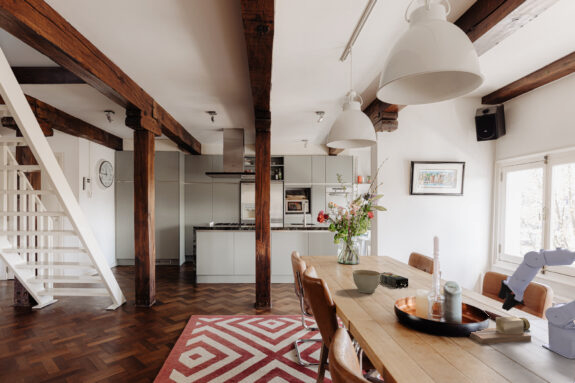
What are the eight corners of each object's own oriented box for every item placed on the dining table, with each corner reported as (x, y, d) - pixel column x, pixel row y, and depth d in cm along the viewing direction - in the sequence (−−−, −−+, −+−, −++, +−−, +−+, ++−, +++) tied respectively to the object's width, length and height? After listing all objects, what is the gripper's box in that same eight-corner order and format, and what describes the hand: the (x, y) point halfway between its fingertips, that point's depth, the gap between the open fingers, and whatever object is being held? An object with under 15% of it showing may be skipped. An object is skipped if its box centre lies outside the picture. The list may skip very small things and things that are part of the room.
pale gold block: (523, 333, 115) (523, 320, 115) (504, 334, 114) (503, 321, 114) (514, 329, 119) (514, 316, 119) (495, 330, 118) (495, 317, 118)
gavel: (470, 306, 143) (489, 305, 144) (471, 316, 142) (490, 315, 143) (507, 320, 122) (529, 319, 123) (508, 332, 121) (530, 331, 123)
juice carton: (376, 280, 203) (376, 271, 203) (388, 279, 206) (388, 270, 206) (395, 289, 184) (395, 279, 184) (409, 288, 187) (409, 278, 187)
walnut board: (531, 341, 113) (530, 335, 113) (482, 344, 111) (482, 338, 111) (512, 332, 121) (512, 327, 121) (466, 334, 119) (466, 329, 119)
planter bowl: (376, 296, 167) (376, 277, 167) (348, 292, 175) (348, 273, 176) (384, 290, 181) (383, 271, 181) (357, 286, 189) (357, 268, 190)
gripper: (506, 263, 124) (488, 288, 129) (515, 282, 111) (495, 309, 116) (525, 271, 122) (506, 296, 127) (536, 291, 109) (515, 318, 114)
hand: (502, 303), depth 121 cm, fingers open, 7 cm apart
